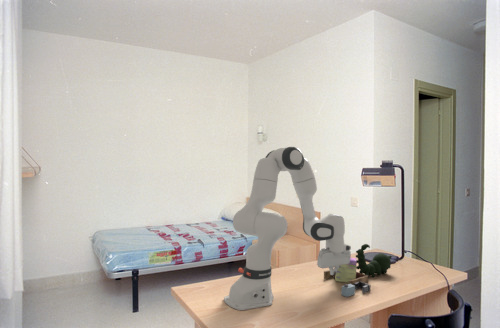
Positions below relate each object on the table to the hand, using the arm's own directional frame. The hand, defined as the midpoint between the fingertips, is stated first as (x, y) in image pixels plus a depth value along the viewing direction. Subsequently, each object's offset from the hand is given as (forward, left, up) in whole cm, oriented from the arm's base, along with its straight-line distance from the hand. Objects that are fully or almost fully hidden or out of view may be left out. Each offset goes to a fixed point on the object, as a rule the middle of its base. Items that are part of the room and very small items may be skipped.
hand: (333, 274), depth 174 cm
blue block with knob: (-2, -11, -6) cm, 12 cm away
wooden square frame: (+11, +1, -6) cm, 13 cm away
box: (+12, +2, -6) cm, 13 cm away
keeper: (+7, -11, -6) cm, 14 cm away
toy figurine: (+33, -1, -6) cm, 34 cm away
